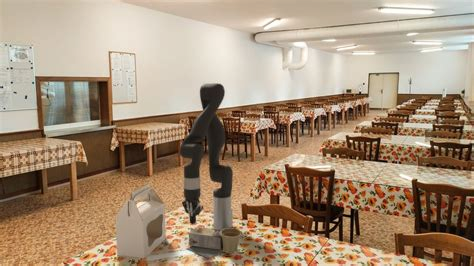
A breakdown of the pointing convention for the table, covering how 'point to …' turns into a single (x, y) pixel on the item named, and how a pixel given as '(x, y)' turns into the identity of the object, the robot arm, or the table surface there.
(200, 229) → the coffee box
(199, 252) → the grey flat slab
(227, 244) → the flower pot
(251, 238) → the table surface
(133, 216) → the gable box
